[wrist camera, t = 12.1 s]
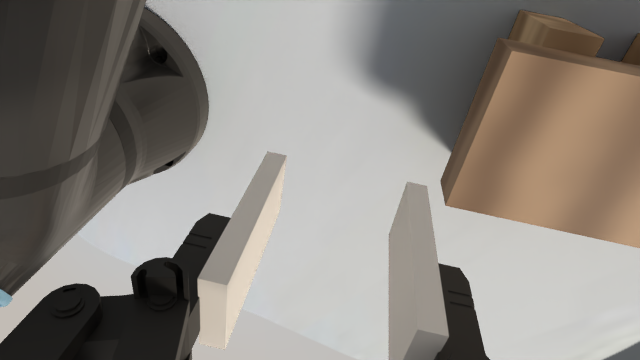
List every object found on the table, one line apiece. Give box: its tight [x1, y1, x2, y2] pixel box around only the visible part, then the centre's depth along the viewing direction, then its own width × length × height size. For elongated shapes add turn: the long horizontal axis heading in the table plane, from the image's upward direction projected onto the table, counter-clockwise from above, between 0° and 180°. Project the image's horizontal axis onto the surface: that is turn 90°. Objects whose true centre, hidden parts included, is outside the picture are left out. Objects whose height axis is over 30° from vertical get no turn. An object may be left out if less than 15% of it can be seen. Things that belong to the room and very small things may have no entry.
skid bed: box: [508, 10, 640, 66], centre depth 27 cm, size 11×12×6 cm
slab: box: [441, 38, 640, 248], centre depth 23 cm, size 16×10×3 cm, turn 81°
